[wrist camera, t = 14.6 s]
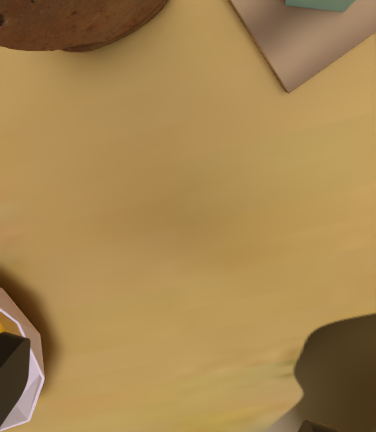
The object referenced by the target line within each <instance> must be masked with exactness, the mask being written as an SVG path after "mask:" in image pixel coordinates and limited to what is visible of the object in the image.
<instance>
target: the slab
mask: <svg viewBox="0 0 376 432" xmlns="http://www.w3.org/2000/svg"><path fill="white" fill-rule="evenodd" d="M229 2H230V3H231V5H232V7H233V8H234V10H235V11H236V13H237V15H238V16H239V18H240V19H241V21H242V23H243V24H244V26H245V27H246V29H247V31H248V32H249V34H250V36H251V37H252V39H253V40H254V42H255V44H256V45H257V47H258V48H259V50H260V52H261V53H262V55H263V56H264V58H265V60H266V61H267V63H268V64H269V66H270V68H271V69H272V71H273V72H274V74H275V76H276V77H277V79H278V80H279V82H280V84H281V85H282V87H283V88H284V90H285V92H287V93H290V92H291V91H293V90H294V89H296V88H297V87H298V86H300V85H301V84H303V83H304V82H305V81H307V80H308V79H310V78H311V77H313V76H314V75H315V74H317V73H318V72H320V71H321V70H322V69H324V68H325V67H327V66H328V65H329V64H331V63H332V62H334V61H335V60H337V59H338V58H339V57H341V56H342V55H344V54H345V53H346V52H348V51H349V50H351V49H352V48H354V47H355V46H356V45H358V44H359V43H361V42H362V41H363V40H365V39H366V38H368V37H369V36H370V35H372V34H373V33H375V32H376V0H355V1H354V2H353V3H352V4H351V5H350V6H349V7H348V9H347V10H346V11H345V12H337V11H329V10H320V9H312V8H304V7H296V6H288V5H285V3H286V0H229Z"/></svg>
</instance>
